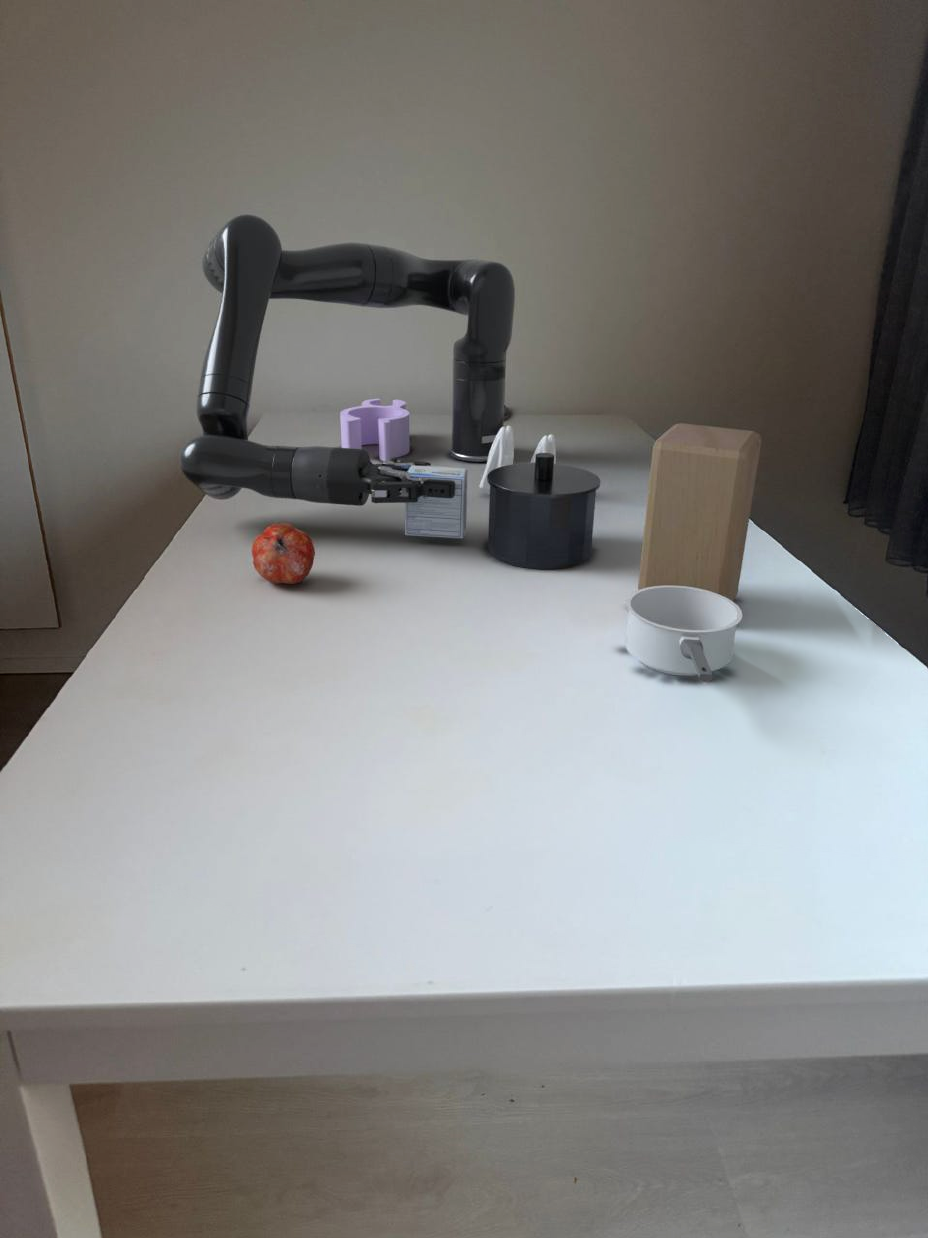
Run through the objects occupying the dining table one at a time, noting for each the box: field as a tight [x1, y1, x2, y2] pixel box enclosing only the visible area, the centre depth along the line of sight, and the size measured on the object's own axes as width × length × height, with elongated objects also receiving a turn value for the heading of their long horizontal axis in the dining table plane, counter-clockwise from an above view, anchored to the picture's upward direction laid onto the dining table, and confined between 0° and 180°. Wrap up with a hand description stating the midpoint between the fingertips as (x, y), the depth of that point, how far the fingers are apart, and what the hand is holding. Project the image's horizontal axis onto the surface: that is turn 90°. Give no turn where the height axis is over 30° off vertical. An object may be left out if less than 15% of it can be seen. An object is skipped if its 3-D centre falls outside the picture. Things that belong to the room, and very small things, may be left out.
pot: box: [487, 485, 597, 570], centre depth 119 cm, size 14×14×10 cm
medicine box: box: [404, 465, 468, 539], centre depth 121 cm, size 8×4×9 cm, turn 84°
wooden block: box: [637, 422, 762, 602], centre depth 101 cm, size 10×10×20 cm
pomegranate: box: [251, 522, 316, 585], centre depth 109 cm, size 7×7×10 cm
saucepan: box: [625, 585, 743, 683], centre depth 88 cm, size 12×20×6 cm, turn 175°
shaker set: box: [479, 425, 557, 495], centre depth 141 cm, size 12×4×11 cm, turn 93°
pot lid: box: [487, 453, 601, 498], centre depth 116 cm, size 15×15×4 cm
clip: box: [339, 398, 410, 462], centre depth 168 cm, size 20×12×7 cm, turn 174°
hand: (456, 484), depth 120 cm, fingers closed on medicine box, 4 cm apart
